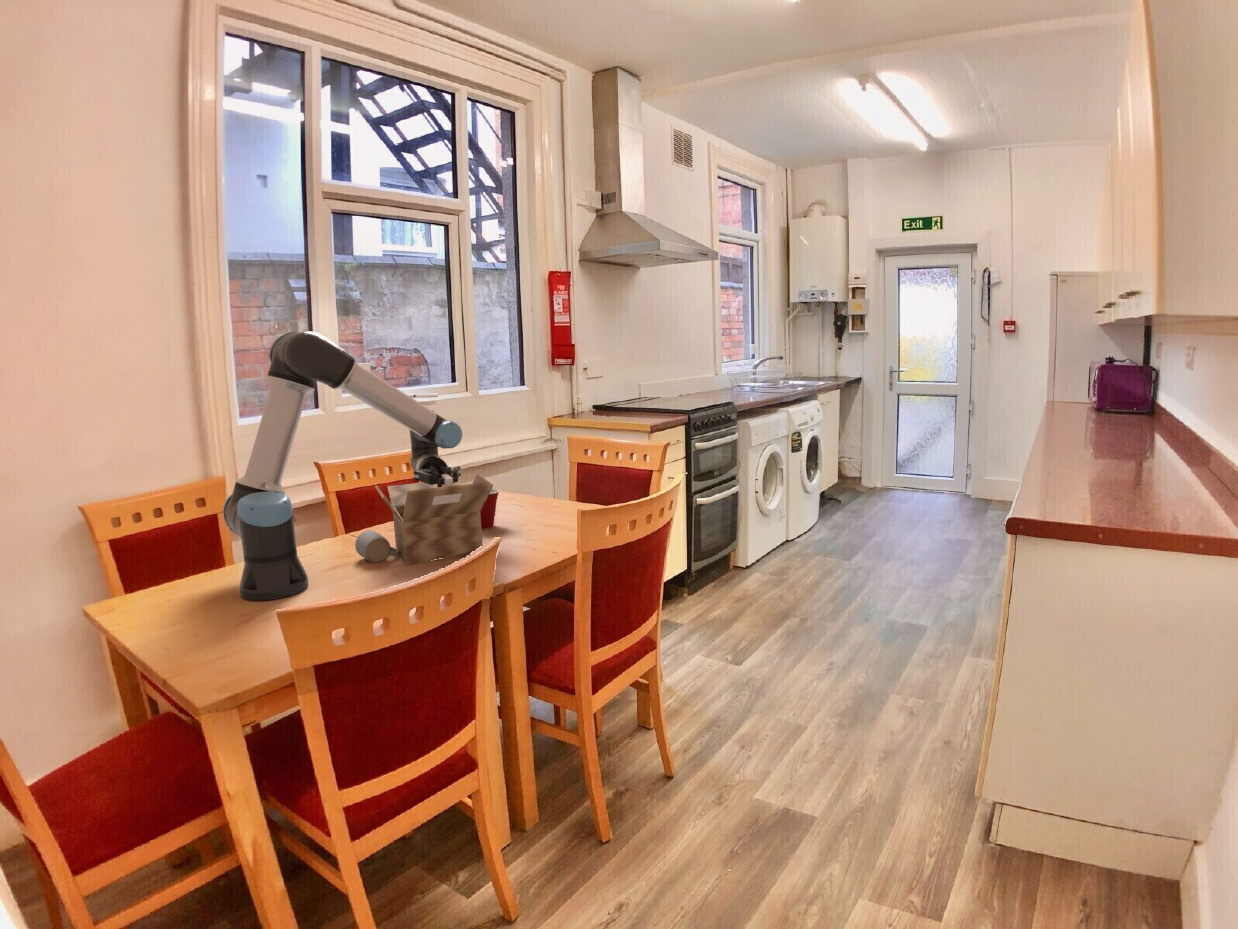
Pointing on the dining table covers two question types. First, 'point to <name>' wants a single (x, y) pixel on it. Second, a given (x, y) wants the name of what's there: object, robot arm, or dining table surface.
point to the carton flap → (444, 501)
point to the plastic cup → (489, 510)
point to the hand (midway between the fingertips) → (450, 483)
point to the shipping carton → (433, 528)
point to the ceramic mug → (374, 547)
